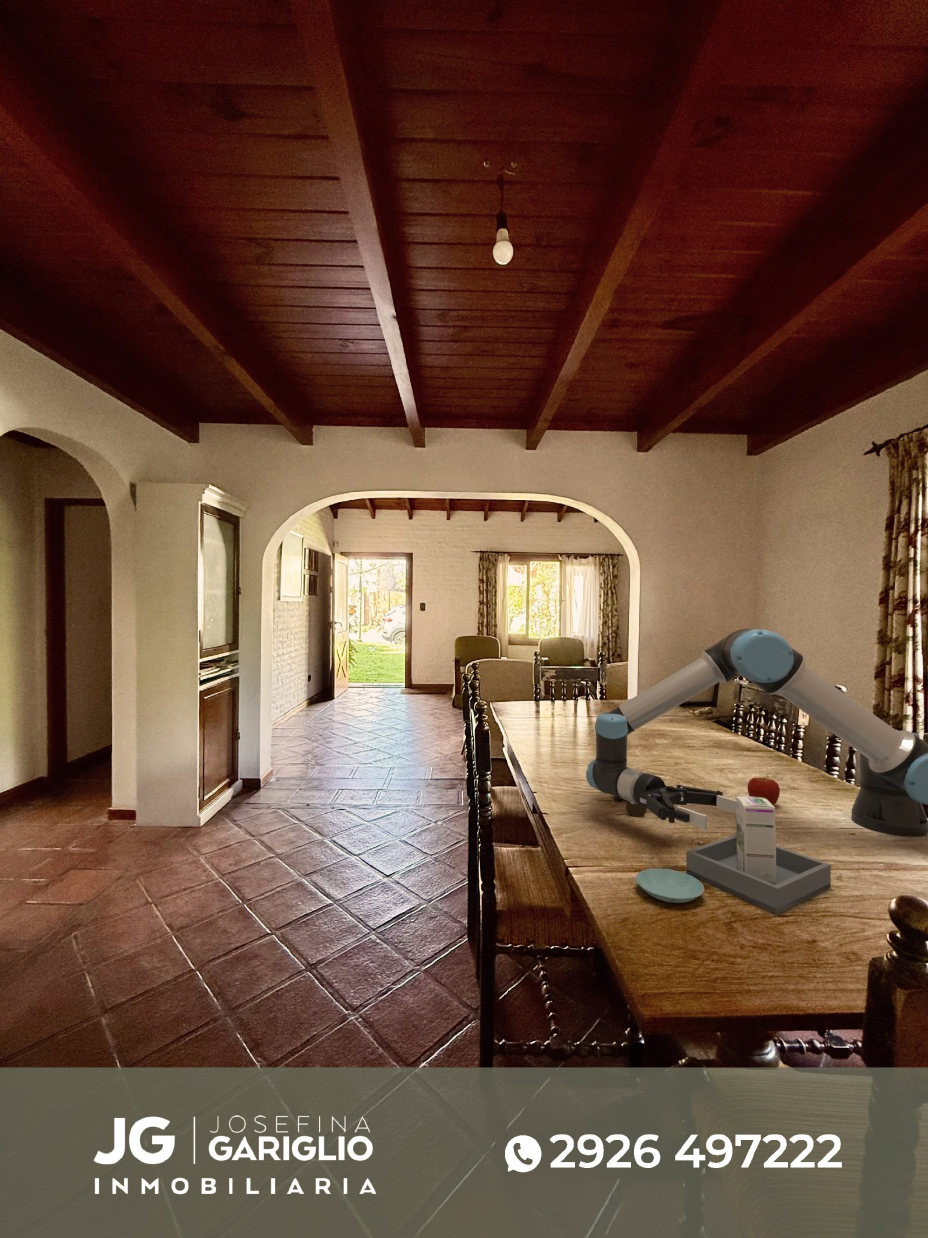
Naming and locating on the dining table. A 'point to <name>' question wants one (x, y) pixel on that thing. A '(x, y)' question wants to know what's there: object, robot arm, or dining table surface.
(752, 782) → the apple
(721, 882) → the tray
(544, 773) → the dining table surface
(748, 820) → the syrup box
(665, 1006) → the dining table surface
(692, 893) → the saucer
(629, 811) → the kendama
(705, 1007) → the dining table surface
